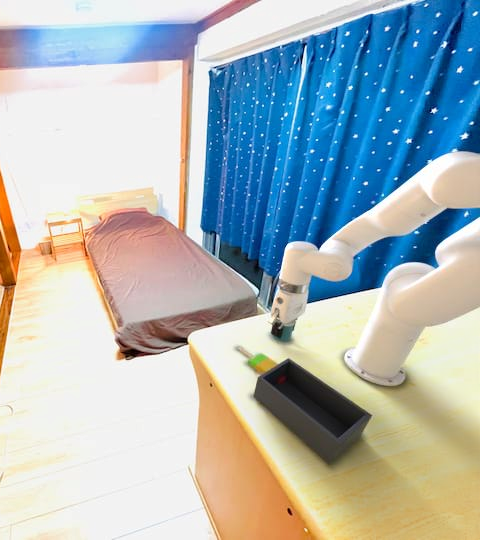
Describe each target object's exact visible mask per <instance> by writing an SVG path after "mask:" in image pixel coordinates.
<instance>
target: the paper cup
mask: <svg viewBox="0 0 480 540" xmlns="http://www.w3.org/2000/svg"><path fill="white" fill-rule="evenodd" d="M276 322H277V323H278V324H280V322H281V321H279V320H277V321H276ZM294 324H295V319H294V320H292V321H290V322H289V323H285V324H283V327H282V328H283V332H282V336H281V338H280V339H279V338H277V337H275V336H274V335H272V334H271V336H272V338H273V339H274V340H276V341H278V342H281V343H288V342H290V341H291V339H292V335H293V332H294V331H293V327H294ZM295 325H296V324H295ZM294 328H295V327H294Z"/></svg>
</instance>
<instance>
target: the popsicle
mask: <svg viewBox="0 0 480 540" xmlns="http://www.w3.org/2000/svg"><path fill="white" fill-rule="evenodd" d="M237 350H239V351H240V352H241V353H243V354H245V355H246V357H248V358H250V359H248V361H247V365H249V366H250V367H251V368H253V369H254V370H255V371H257V372H258V373H260V375H262V374H263V373H265V372H267V371H268V370H270V369H271V368H273V367H275V366H276V365H278V364H279V363H277V362H276V361H274V360H272V359H271V358H270V357H268V356H267V355H265V354H263V352H262V353H261V352H260V353H257V355H255V356H254V355H252V354H251V353H250V352H249V351H247V350H245V349H244V348H242V347H241V346H238V347H237ZM284 380H285V376H284V377H283V378H281V379H280V380H279V381H278V383H281V382H283V381H284Z"/></svg>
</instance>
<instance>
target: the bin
mask: <svg viewBox="0 0 480 540" xmlns="http://www.w3.org/2000/svg"><path fill="white" fill-rule="evenodd" d="M277 364H278V365H276V366H275V367H273V368H271V369H270V370H268V371H267V372H265V373H263V374H260V375H258V376H257V379H256V382H255V383H256V384H255V387H254V392H253V395H252V397H253V398H254V399H255V400H256V401H257V402H258V403H259V404H260V405H262V407H264V408H265V409H266V410H267V411H268V412H269V413H271V415H273V416H274V417H275V418H276V419H277V420H279V422H281V424H283V426H285V427H286V428H287V429H288V430H289V431H291V432H292V433H293V434H294V435H295V436H296V437H297V438H298V439H300V441H302V442H303V443H304V444H305V445H306V446H307V447H308V448H309V449H311V450H312V451H313V452H314V453H315V454H316V455H317V456H318V457H320V459H322V460H323V461H324V462H325V463H326V464H327V465H331V464H332V463H333V462H334V461H335V460H337V459H338V458H339V457H340V456H341V455H342V454H343V453H344V452H345V451H346V450H348V448H350V447H351V446H352V445H353V444H354V443H355V442H356V441H357V440H358V439H359V438H360V437H361V436H362V435H363V433H364V432H365V429H366V428H367V426H368V424H369V423H370V421H371V419H372V417H373V414H371V413H370V412H368V411H367V410H366V409H364V408H363V407H361V406H360V405H358V404H357V403H355V402H354V401H352V400H351V399H350V398H348V397H347V396H345V395H343V394H342V393H341V392H339V391H338V390H337V389H335V388H333V387H332V386H331V385H329V384H327V383H326V382H325V381H323V380H322V379H320V378H319V377H317V376H316V375H315V374H313V373H311V372H310V371H309V370H307V369H305V368H304V367H302V366H301V364H298V363H297V362H295V361H294V360H292V359H291V358H289V357H287V358H286V359H284V360H283V361H281V362H280V363H277ZM284 376H285V380H284V381H283V382H281V383H278V381H279V380H280V379H281V378H283V377H284Z"/></svg>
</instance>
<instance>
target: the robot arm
mask: <svg viewBox="0 0 480 540" xmlns="http://www.w3.org/2000/svg"><path fill="white" fill-rule="evenodd" d="M479 208H480V154H479V153H476V152H472V151H471V152H470V151H463V150H461V151H452V152H448V153H446V154H443V155H441V156H439V157H437V158H436V159H434V160H432V161H431V162H429V163H428V164H427V165H425V166H424V167H423V168H422V169H420V170H419V171H418V172H416V174H414V175H413V176H412V177H411V178H409V179H408V180H407V181H405V182H404V183H403V184H402V185H400V186H399V187H398V188H397V189H395V190H394V191H393V192H392V193H390V194H389V195H388V196H387V197H385V198H384V199H383V200H381V202H379V203H378V204H376V205H375V206H374V207H372V208H371V209H370V210H368V211H366V212H364V213H363V214H361V215H359V216H358V217H355V218H354V219H353V220H352V221H350V222H348V223H347V224H345V226H343V227H341V229H339V230H338V231H336V233H334V234H333V235H332V236H331V237H329V238H328V239H327V240H325V242H323V244H322V245H321V247H320V248H319V250H318V247H317V246H316V245H315V244H313V243H311V242H308V241H302V240H301V241H300V240H299V241H291V242H289V243H288V244H287V245H286V247H285V248H284V253H283V257H282V263H281V269H280V273H279V278H278V282H277V288H278V289H277V290H276V293H275V295H274V298H273V302H272V306H271V310H270V318H269V319H268V321H267V322H268V323H269V324H270V325H271V331H270V334H271V336H272V335H274V336H275V337H277V338H279V339H280V338H281V336H282V332H283V328H282V327H283V324H285V323H289V322H290V321H292V320H294V319H295V324H294V327H293V331H292V332H294V331H295V327H296V324H297V320H298V319H299V318H300V317H301V316H303V315H304V314H305V312H306V308H307V304H308V297H309V288H310V284H311V280H312V276H313V277H316V278H319V279H322V280H325V281H328V282H329V281H330V282H341V281H344V280H346V279H348V278H349V277H350V275H351V274H352V272H353V269H354V268H353V267H354V257H355V256H356V255H358V254H359V253H360V252H362V251H363V250H365V249H366V248H368V247H369V246H370V245H372V244H374V243H376V242H377V241H380V240H382V239H384V238H388V237H402V236H407V235H409V234H411V233H412V232H414V231H415V230H416V229H418V228H420V227H421V226H423V225H424V224H426V223H428V221H430V220H431V219H433V218H434V217H436V216H438V215H439V214H441V213H442V212H443V211H445V210H447V209H479ZM434 254H435V256H434V257H435V260H436V263H437V265H438V267H437V268H435V266H432V265H429V264H427V263H424V262H416V261H413V262H406V263H405V262H404V263H401V264H399V265H397V266H395V267H394V268H392V269H391V270H390V271H388V273H387V274H386V276H385V277H384V279H383V283H382V285H381V288H380V291H379V294H378V298H377V300H376V303H375V304H374V308H373V310H372V312H371V314H370V316H369V318H368V320H367V323H366V325H365V328H364V329H363V331H362V334H361V336H360V338H359V340H358V343H357V345H356V346H355V347H353V348H350V349H348V350H347V351H346V353H345V354H344V362H345V364H346V366H347V367H348V368H349V369H350V370H351V371H352V372H354V373H355V374H356V375H357V376H359V377H360V378H361V379H364V380H366V381H368V382H371V383H373V384H377V385H379V386H384V387H394V386H399V385H401V384H403V382H404V381H405V379H406V372H405V370H404V369H403V365H404V364H405V362H406V360H407V358H408V357H409V355H410V354H411V352H412V350H413V348H414V347H415V345H416V343H417V341H418V340H419V339H420V336H421V335H422V334H423V332H424V330H425V328H430V327H435V326H440V325H443V324H446V323H449V322H451V321H453V320H456V319H457V318H459V317H462V316H465V315H467V314H469V313H470V312H472V311H475V310H477V309H479V308H480V216H479V217H477V218H476V219H475V220H473V221H472V222H470V223H469V224H467V225H465V226H464V227H462V228H460V229H459V230H458V231H456V232H454V233H453V234H451V235H450V236H448V237H447V238H445V239H444V240H443V241H442V242H440V243H439V244H438V245H437V246H436V248H435V252H434ZM277 320H279V321H281V322H280V324H278V323H277V322H276V321H277Z"/></svg>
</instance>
